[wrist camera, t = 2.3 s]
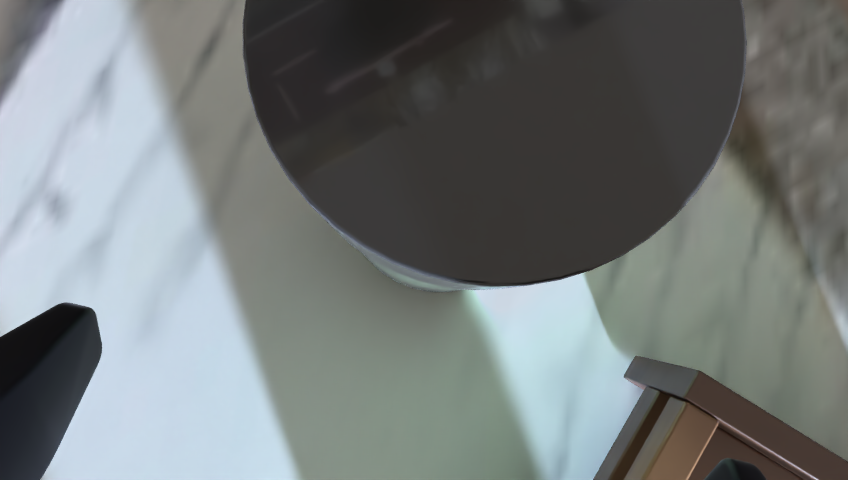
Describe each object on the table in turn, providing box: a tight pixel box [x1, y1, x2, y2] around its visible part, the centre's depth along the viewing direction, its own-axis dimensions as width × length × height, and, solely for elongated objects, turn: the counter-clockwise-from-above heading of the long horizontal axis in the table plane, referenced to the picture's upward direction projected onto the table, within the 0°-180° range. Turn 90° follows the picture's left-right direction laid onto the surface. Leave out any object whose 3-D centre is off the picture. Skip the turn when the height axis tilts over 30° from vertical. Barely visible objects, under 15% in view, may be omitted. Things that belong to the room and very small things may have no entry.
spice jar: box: [243, 0, 747, 292], centre depth 15 cm, size 6×6×13 cm
